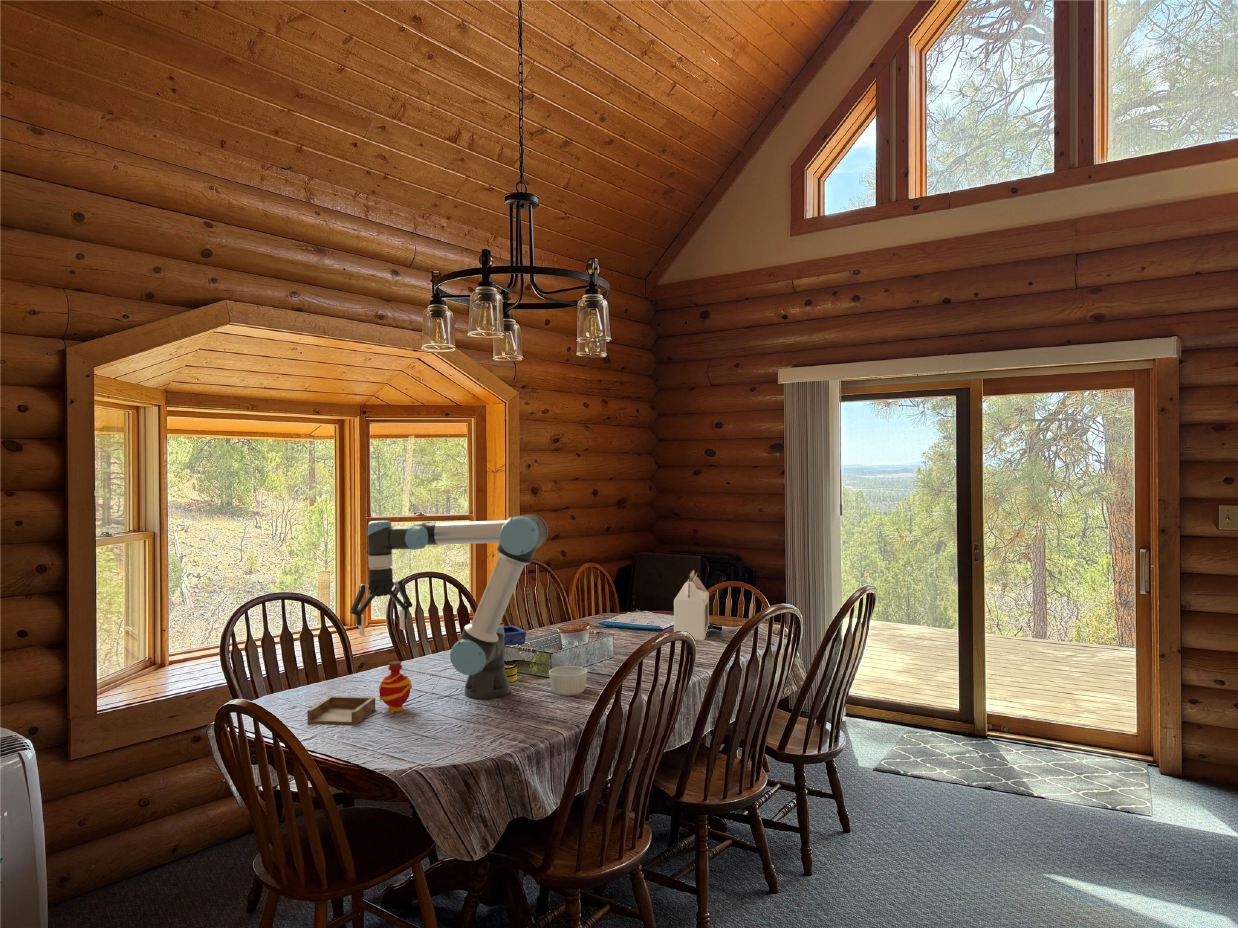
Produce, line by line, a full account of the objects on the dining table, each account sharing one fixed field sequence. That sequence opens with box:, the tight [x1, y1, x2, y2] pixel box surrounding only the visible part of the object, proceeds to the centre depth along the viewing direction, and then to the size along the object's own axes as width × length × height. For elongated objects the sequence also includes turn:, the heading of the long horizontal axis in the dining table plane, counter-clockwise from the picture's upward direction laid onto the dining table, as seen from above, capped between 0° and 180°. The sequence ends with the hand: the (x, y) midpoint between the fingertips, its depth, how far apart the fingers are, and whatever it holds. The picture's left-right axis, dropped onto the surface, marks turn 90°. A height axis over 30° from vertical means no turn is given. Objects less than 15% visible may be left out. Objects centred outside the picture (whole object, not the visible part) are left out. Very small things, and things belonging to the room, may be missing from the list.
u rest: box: [306, 695, 376, 726], centre depth 254 cm, size 15×15×4 cm
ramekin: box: [548, 665, 588, 696], centre depth 282 cm, size 13×13×7 cm
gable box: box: [673, 569, 710, 641], centre depth 370 cm, size 22×13×28 cm, turn 168°
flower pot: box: [502, 625, 527, 647], centre depth 325 cm, size 13×13×12 cm
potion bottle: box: [378, 660, 413, 713], centre depth 261 cm, size 10×10×15 cm
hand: (382, 632), depth 271 cm, fingers open, 13 cm apart
